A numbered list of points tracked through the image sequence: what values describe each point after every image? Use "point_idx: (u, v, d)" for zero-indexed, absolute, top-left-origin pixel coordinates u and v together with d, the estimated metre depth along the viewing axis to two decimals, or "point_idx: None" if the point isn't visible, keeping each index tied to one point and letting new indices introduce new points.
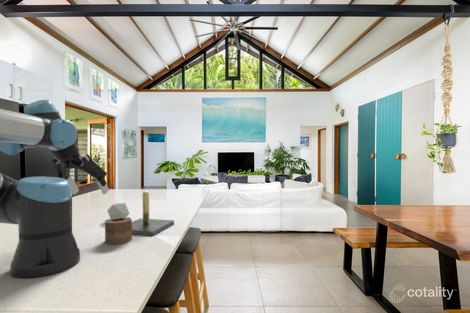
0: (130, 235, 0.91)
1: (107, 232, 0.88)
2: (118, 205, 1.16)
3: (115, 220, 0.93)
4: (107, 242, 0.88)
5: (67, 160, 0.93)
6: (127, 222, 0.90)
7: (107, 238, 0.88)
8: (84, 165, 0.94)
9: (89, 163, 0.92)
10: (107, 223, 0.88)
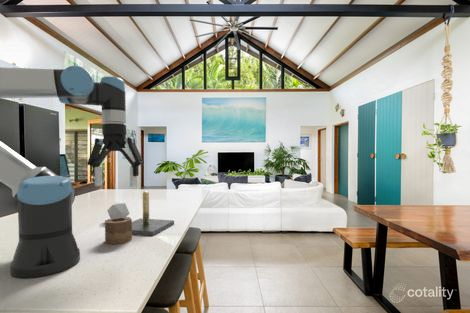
0: (130, 235, 0.91)
1: (107, 232, 0.88)
2: (118, 205, 1.16)
3: (115, 220, 0.93)
4: (107, 242, 0.88)
5: (111, 140, 0.90)
6: (127, 222, 0.90)
7: (107, 238, 0.88)
8: (125, 149, 0.90)
9: (132, 145, 0.89)
10: (107, 223, 0.88)
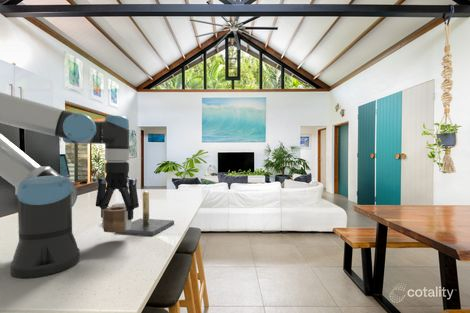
0: None
1: (105, 220, 0.87)
2: (118, 205, 1.16)
3: (114, 209, 0.92)
4: (105, 230, 0.87)
5: (113, 176, 0.90)
6: None
7: (105, 226, 0.87)
8: (125, 189, 0.90)
9: (132, 187, 0.89)
10: (105, 211, 0.87)
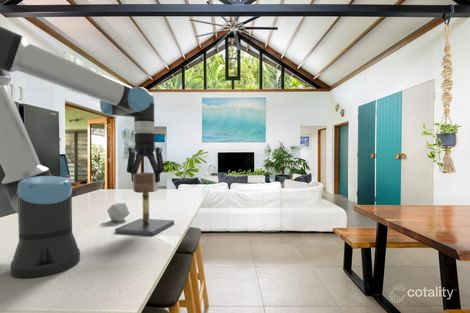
0: None
1: (137, 182, 1.02)
2: (118, 205, 1.16)
3: None
4: (137, 191, 1.02)
5: (141, 145, 1.04)
6: None
7: (137, 187, 1.02)
8: (152, 156, 1.04)
9: (159, 154, 1.03)
10: (137, 174, 1.02)
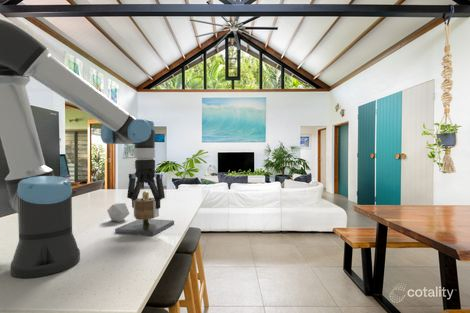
0: None
1: (137, 209, 1.02)
2: (118, 205, 1.16)
3: (143, 200, 1.07)
4: (137, 218, 1.02)
5: (142, 171, 1.04)
6: None
7: (137, 214, 1.02)
8: (152, 183, 1.04)
9: (159, 181, 1.03)
10: (137, 201, 1.02)
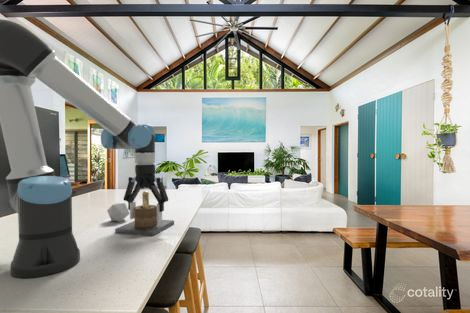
0: (156, 220, 1.05)
1: (137, 217, 1.02)
2: (118, 205, 1.16)
3: (142, 207, 1.07)
4: (137, 225, 1.02)
5: (142, 177, 1.04)
6: (154, 208, 1.04)
7: (137, 222, 1.02)
8: (154, 186, 1.04)
9: (160, 184, 1.03)
10: (137, 209, 1.02)
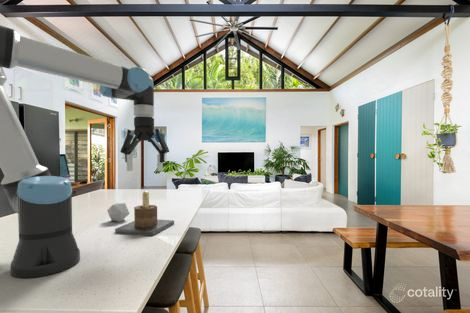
0: (156, 220, 1.05)
1: (137, 217, 1.02)
2: (118, 205, 1.16)
3: (142, 207, 1.07)
4: (137, 225, 1.02)
5: (141, 131, 1.04)
6: (154, 208, 1.04)
7: (137, 222, 1.02)
8: (153, 139, 1.04)
9: (159, 135, 1.02)
10: (137, 209, 1.02)
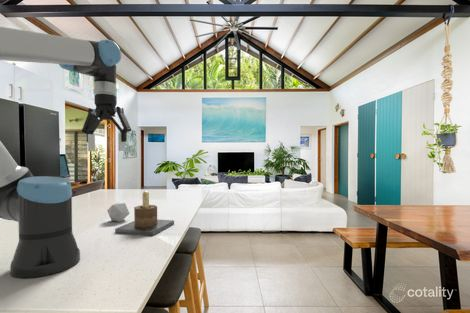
0: (156, 220, 1.05)
1: (137, 217, 1.02)
2: (118, 205, 1.16)
3: (142, 207, 1.07)
4: (137, 225, 1.02)
5: (102, 109, 1.00)
6: (154, 208, 1.04)
7: (137, 222, 1.02)
8: (114, 117, 1.00)
9: (121, 113, 0.99)
10: (137, 209, 1.02)
